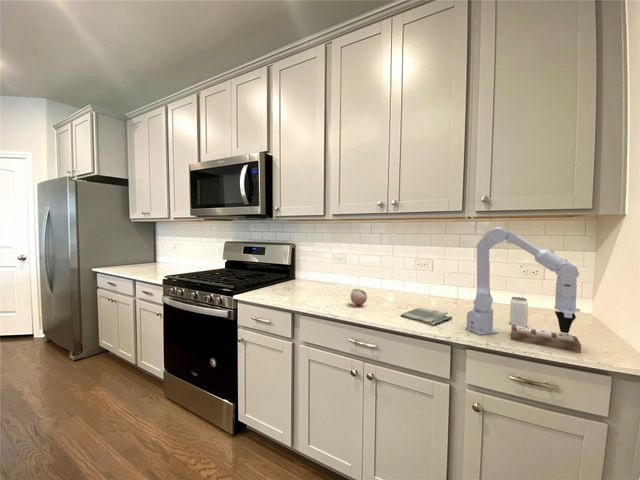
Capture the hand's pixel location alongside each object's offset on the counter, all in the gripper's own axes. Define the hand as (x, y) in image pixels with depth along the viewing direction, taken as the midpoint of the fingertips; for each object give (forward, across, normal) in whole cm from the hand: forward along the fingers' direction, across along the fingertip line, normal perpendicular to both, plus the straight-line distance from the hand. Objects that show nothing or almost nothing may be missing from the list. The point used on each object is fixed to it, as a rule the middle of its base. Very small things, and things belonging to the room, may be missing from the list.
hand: (564, 332), depth 103 cm
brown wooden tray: (+5, 0, +6) cm, 8 cm away
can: (+5, +18, +13) cm, 23 cm away
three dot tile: (+4, 0, +12) cm, 13 cm away
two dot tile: (+5, 0, 0) cm, 5 cm away
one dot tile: (+5, 0, +6) cm, 8 cm away
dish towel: (+6, +4, +50) cm, 50 cm away
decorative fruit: (+5, +3, +86) cm, 86 cm away
